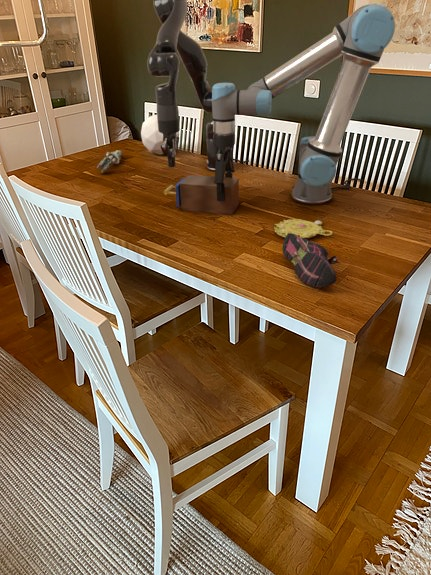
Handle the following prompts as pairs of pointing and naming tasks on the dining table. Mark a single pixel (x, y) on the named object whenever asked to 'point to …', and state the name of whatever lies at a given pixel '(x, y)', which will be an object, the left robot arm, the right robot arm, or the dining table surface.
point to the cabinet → (208, 195)
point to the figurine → (110, 160)
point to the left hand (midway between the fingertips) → (172, 166)
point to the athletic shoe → (309, 261)
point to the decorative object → (300, 228)
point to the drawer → (178, 195)
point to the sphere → (152, 135)
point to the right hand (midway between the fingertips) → (224, 195)
